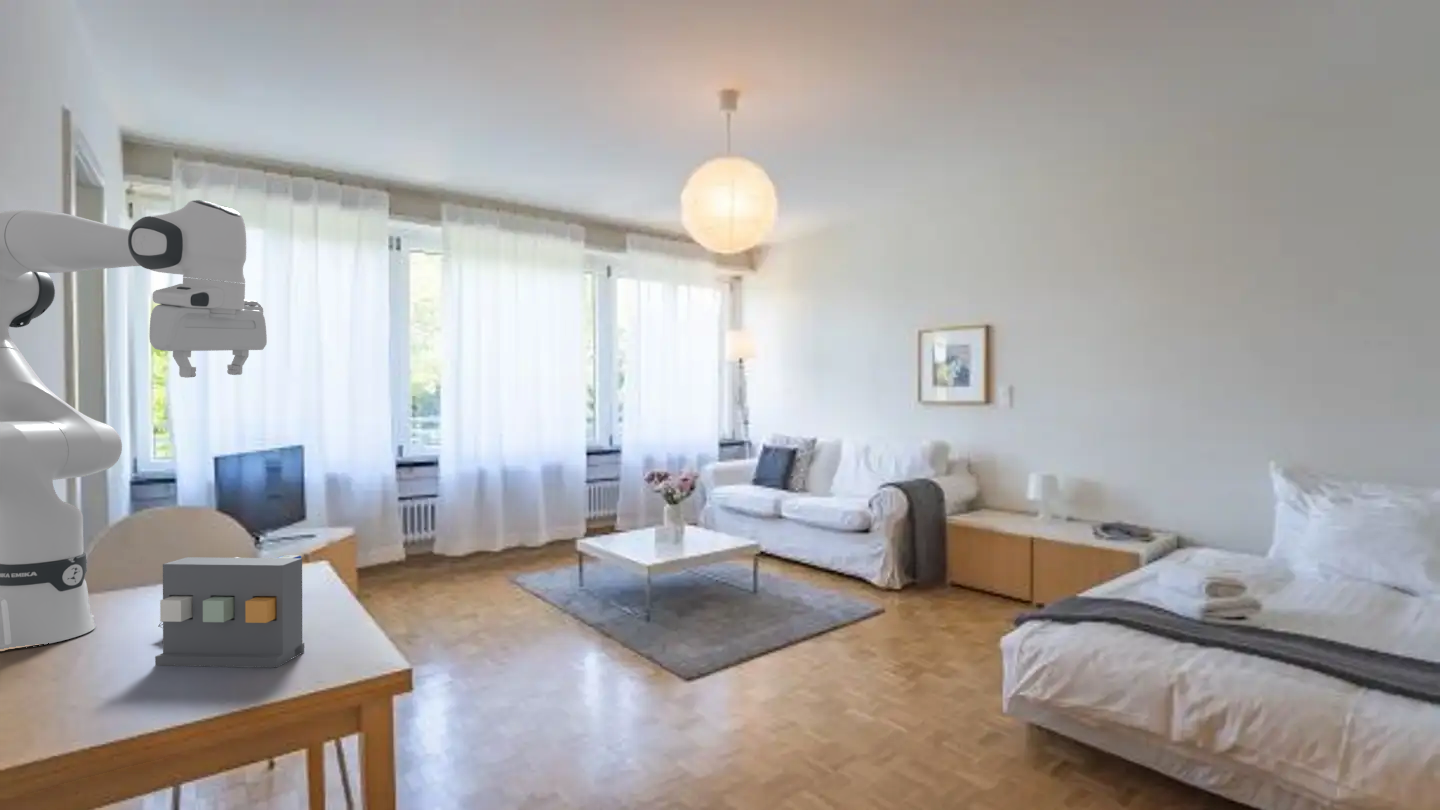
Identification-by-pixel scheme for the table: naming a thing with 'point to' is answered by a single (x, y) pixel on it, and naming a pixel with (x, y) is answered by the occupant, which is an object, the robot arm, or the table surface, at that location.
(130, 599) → the table surface
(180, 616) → the button offwhite
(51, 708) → the table surface
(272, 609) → the button orange
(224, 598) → the button sage
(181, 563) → the button panel
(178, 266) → the robot arm
